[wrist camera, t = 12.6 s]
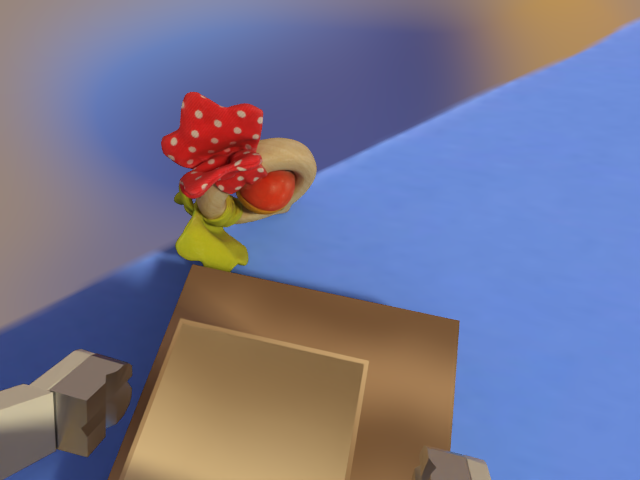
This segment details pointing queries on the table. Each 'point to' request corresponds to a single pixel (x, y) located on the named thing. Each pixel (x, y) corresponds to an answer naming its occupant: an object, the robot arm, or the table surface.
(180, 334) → the beech post
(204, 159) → the bird rattle
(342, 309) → the pedestal
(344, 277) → the table surface
